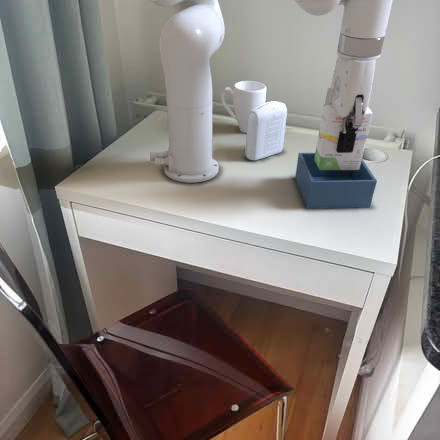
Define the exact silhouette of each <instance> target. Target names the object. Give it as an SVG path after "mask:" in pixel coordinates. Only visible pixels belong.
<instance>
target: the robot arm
mask: <svg viewBox="0 0 440 440" xmlns="http://www.w3.org/2000/svg"><path fill="white" fill-rule="evenodd" d="M150 1H151V2H152V3H153V4H155V5H156V6H159V7H162V8H163V7H164V8H166V7H172V10H173V13H174V14H173V15H172V16H171V17H170V18H169V19H168V20H167V21H166V22H165V24H164V25H163V27H162V29H161V32H160V34H159V41H158V42H159V45H158V47H159V55H160V56H159V57H160V60H161V65H162V69H163V76H164V77H163V78H164V85H165V86H164V87H165V98H166V113H167V129H168V148H167V149H168V150H164V151H163V152H158V151H150V152H149V159H150V162H154V164H155V165H156V166H159V165H160V166H161V165H163V172H164V174H165V176H166V177H168V178H170V179H171V180H174V181H176V182H181V183H190V184H192V183H193V184H195V183H202V182H206V181H209V180H211V179H213V178H215V177H216V176H217V175H218V174H219V171H220V167H219V166H220V165H219V163H218V161H217V160H215V158H213V81H212V74H211V73H212V71H211V66H210V59H211V57H212V56H213V55H214V54H215V53H216V52H217V51H218V50H219V48H220V47H221V46H222V44H223V42H224V39H225V32H226V27H225V22H224V21H225V20H224V17H223V12H222V9H221V7H220V4H219V0H150ZM294 2H295V3H296V4H297V5H298V7H299V8H300V9H301V10H303V11H304V12H305V13H307V14H308V15H311V16H316V17H317V16H323V15H328V14H329V13H331V12H332V11H334V9H336V7H337V6H343V13H342V19H341V26H340V32H339V38H338V44H337V50H336V55H337V58H336V61H335V65H334V69H333V74H332V79H331V84H330V88H333V93H332V99H331V104H330V105H331V106H332V107H333V108H334V110H335V111H336V114H337V115H338V116H339V117H340V118H343V125H342V132H340V133H339V139H338V144H337V149H336V151H337V152H338V153H351V152H353V149H354V144H355V139H356V135H357V133H358V128H359V127H360V126H361V125H362V118H363V117H364V116H365V114H366V112H367V108H369V103H370V100H371V94H372V91H373V90H372V88H373V83H374V77H375V71H376V62H377V60H378V59H380V58H381V56H382V55H381V54H382V50H383V46H384V42H385V37H386V34H387V28H388V25H389V19H390V14H391V10H392V6H393V2H394V0H294ZM351 112H353V116H348V115H349V113H351ZM348 119H353V121H352V122H350V123H349V124H348V125H347V122H348Z"/></svg>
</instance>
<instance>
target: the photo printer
mask: <svg viewBox="0 0 440 440" xmlns="http://www.w3.org/2000/svg"><path fill="white" fill-rule="evenodd" d="M287 115H288V109H287V106H286V104H285V103H284V102H281V101H277V100H276V101H275V100H274V101H267V102H266V101H265V103H263V104H260V105H258V106H257V107H255V108H253V109H252V110H251V111H250V112H249V114H248V121H247V133H246V137H245V138H246V139H245V140H246V141H245V153H244V154H245V156H246V159H248V160H250V161H257V160H261V159H264V158H268V157H270V156H273V155H276V154H279V153H282V151H283V150H284V143H285V142H284V141H285V135H286V134H285V132H286V125H287Z"/></svg>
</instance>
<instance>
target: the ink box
mask: <svg viewBox="0 0 440 440" xmlns="http://www.w3.org/2000/svg"><path fill="white" fill-rule="evenodd" d="M332 93H333V88H331V87H328V88H327V91H326V94H325V95H326V96H325V100H324V104H323V106H322V111H321V118H320V125H319V129H318V135H317V142H316V148H315V152H314V153H315V158H314V160H315V162H316V164H317V166H318V168H319V170H359V168H360V164H361V160H362V159H363V155H364V151H365V148H366V143H367V139H368V136H369V132H370V128H371V124H372V119H373V112H372V110H371V109H370V107H368V108H367V112H366V114H365V116H364V117H363V118H362V125H361V126H360V127H359V128H358V133H357V135H356V139H355V144H354V149H353V152H351V153H338V152H337V151H336V149H337V144H338V139H339V133H340V132H342V125H343V118H340V117H339V116H338V115H337V114H336V111H335V110H334V108H333V107H332V106H331V105H330V104H331V99H332ZM348 116H353V112H351V113H349V115H348ZM352 121H353V119H348V122H347V125H348V124H349V123H350V122H352Z"/></svg>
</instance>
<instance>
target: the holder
mask: <svg viewBox="0 0 440 440" xmlns="http://www.w3.org/2000/svg"><path fill="white" fill-rule="evenodd" d="M315 153H316V152H298V155H297V161H296V170H295V177H294V179H295V182H296V183H297V187H298V189H299V191H300V194H301V196H302V199H303V201H304V204H305V207H306V209H310V210H311V209H351V208H352V209H354V208H357V209H359V208H370V207H371V204H372V201H373V198H374V194H375V190H376V186H377V184H378V181H377V178H376V177H375V176H374V174H373V173H372V171H371V170H370V168H369V167H368V166H367V165H368V164H367V163H366V162H365V160H364V159H363V158H362V160H361V164H360V168H359V170H319V168H318V166H317V164H316V162H315V160H314V158H315Z"/></svg>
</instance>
